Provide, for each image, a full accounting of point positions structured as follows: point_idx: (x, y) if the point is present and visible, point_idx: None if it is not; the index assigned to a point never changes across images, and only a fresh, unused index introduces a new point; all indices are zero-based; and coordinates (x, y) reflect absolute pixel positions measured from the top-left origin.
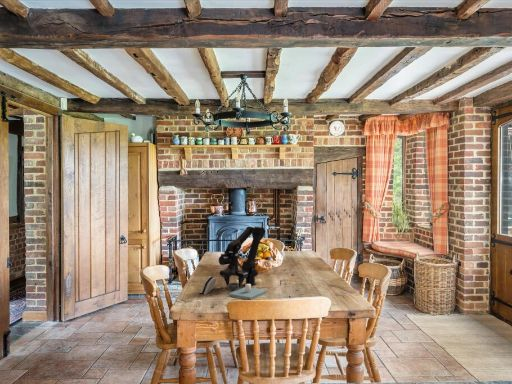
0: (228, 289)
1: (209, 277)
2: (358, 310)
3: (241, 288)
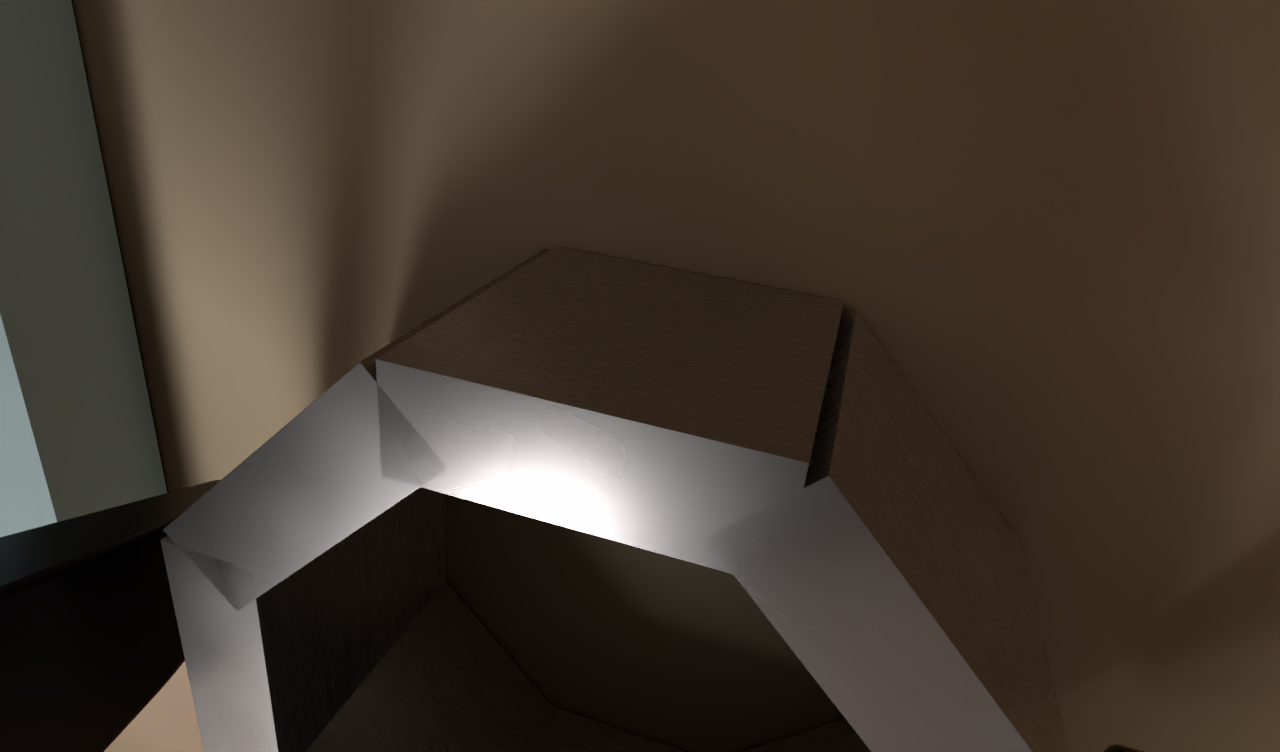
0: (860, 322)
1: None
2: None
3: (11, 374)
